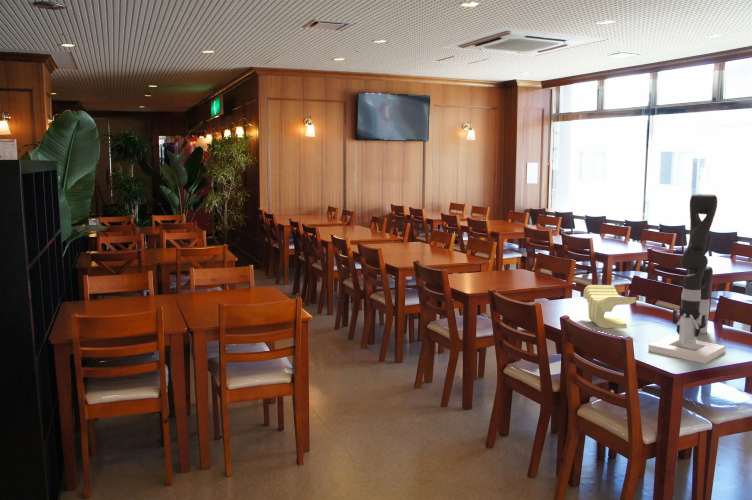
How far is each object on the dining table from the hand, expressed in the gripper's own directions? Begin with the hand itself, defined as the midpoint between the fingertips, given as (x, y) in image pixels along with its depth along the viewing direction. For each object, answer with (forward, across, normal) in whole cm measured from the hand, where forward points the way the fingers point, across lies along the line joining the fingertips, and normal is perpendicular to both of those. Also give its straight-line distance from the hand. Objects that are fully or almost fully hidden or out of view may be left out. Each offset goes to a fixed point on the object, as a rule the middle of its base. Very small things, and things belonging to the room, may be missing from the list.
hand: (687, 335), depth 287 cm
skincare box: (+4, 0, 0) cm, 4 cm away
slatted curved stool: (+8, +47, -19) cm, 51 cm away
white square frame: (+8, 0, 0) cm, 8 cm away
